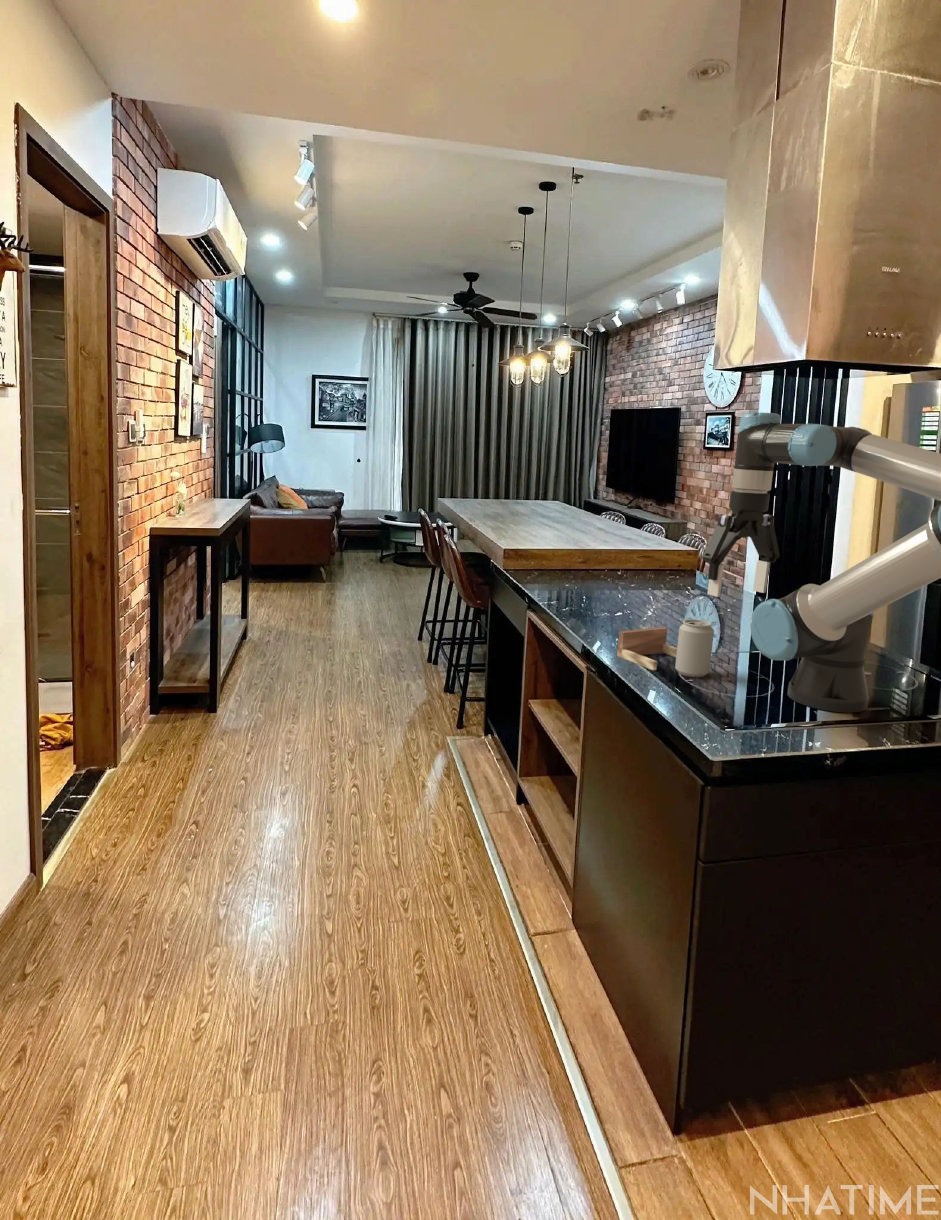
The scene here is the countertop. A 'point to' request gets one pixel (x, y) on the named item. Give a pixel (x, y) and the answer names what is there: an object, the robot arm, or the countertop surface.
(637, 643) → the wooden bracket
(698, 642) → the can
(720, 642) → the countertop surface
